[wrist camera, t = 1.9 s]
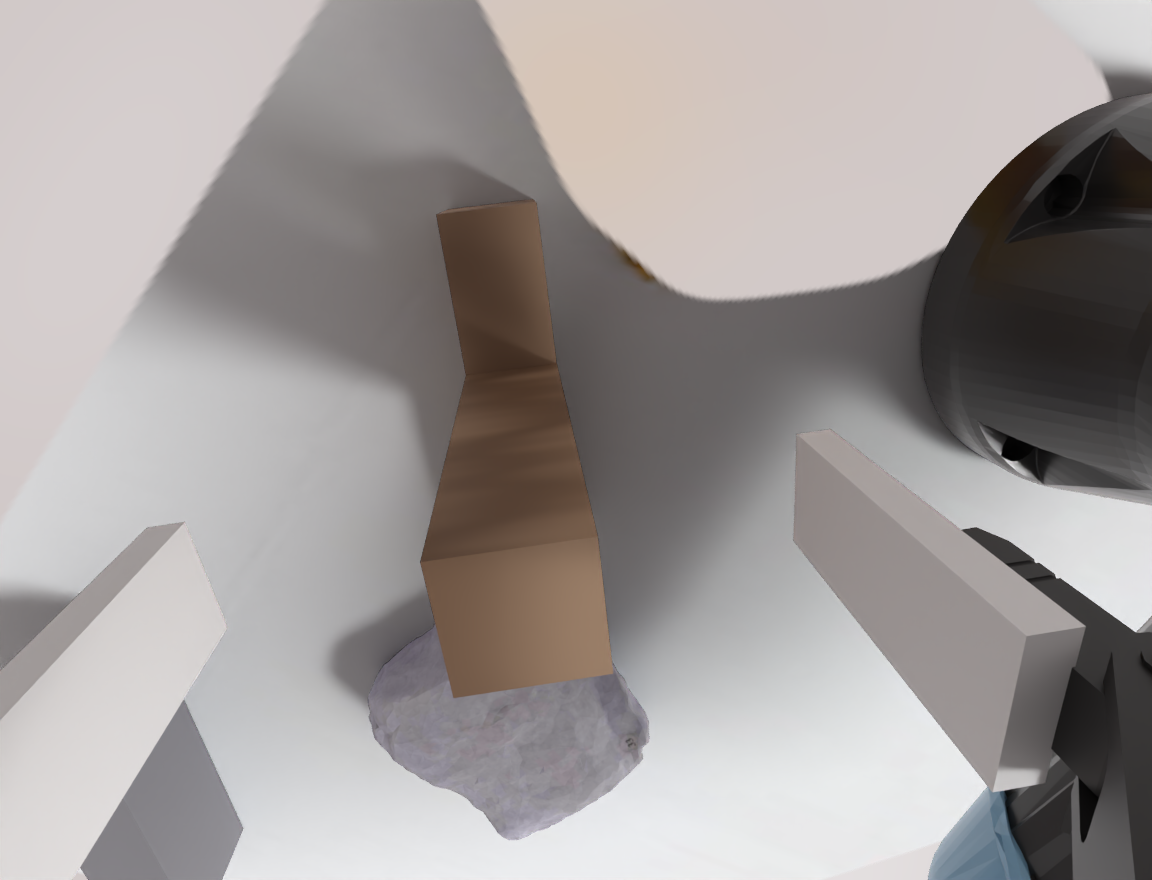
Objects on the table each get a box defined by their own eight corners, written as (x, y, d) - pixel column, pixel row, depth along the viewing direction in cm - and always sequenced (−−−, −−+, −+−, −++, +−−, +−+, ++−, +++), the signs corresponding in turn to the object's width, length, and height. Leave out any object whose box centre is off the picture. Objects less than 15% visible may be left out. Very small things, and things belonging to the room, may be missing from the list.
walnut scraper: (532, 199, 23) (563, 226, 9) (573, 515, 28) (633, 851, 14) (448, 209, 22) (344, 253, 9) (505, 524, 27) (496, 873, 14)
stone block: (510, 535, 30) (352, 678, 30) (531, 583, 25) (346, 752, 25) (652, 672, 34) (517, 797, 34) (692, 734, 30) (536, 878, 30)
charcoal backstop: (141, 608, 27) (66, 695, 23) (243, 828, 33) (199, 934, 28) (70, 619, 27) (-20, 709, 22) (184, 838, 32) (130, 946, 28)
